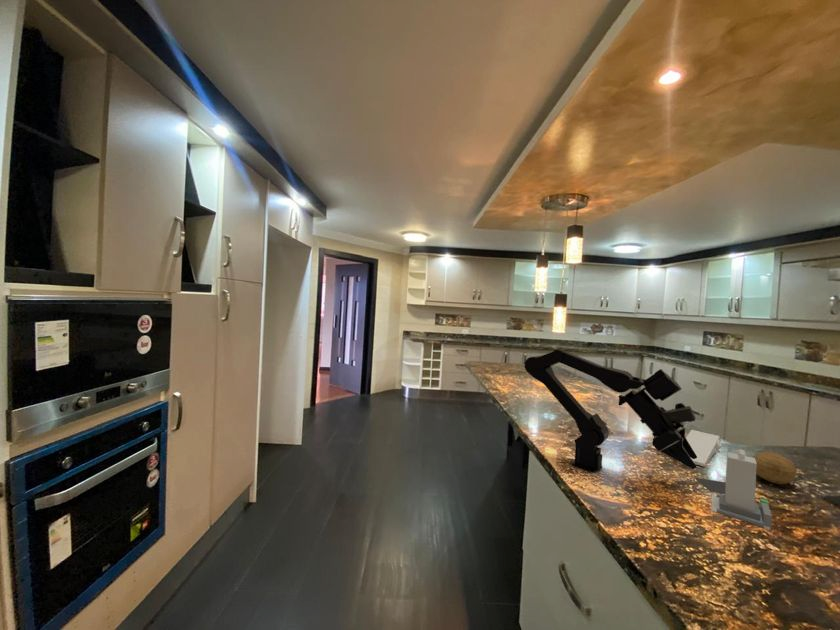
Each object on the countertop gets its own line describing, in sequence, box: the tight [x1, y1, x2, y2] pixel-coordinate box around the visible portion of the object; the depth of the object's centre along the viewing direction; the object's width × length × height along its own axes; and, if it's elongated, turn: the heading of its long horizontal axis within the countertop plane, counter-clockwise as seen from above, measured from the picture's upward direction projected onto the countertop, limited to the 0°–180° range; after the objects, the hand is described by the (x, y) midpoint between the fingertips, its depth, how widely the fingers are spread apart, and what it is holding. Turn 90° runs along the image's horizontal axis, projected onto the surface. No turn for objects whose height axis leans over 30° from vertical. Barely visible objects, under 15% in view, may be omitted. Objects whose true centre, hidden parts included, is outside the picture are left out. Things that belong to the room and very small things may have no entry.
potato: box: [752, 451, 797, 485], centre depth 105 cm, size 10×14×8 cm
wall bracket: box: [685, 429, 722, 468], centre depth 124 cm, size 10×7×28 cm
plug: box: [719, 449, 760, 521], centre depth 85 cm, size 7×7×14 cm
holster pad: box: [693, 476, 726, 495], centre depth 98 cm, size 9×9×1 cm
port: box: [710, 493, 773, 531], centre depth 85 cm, size 10×11×3 cm
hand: (695, 463), depth 91 cm, fingers open, 9 cm apart
